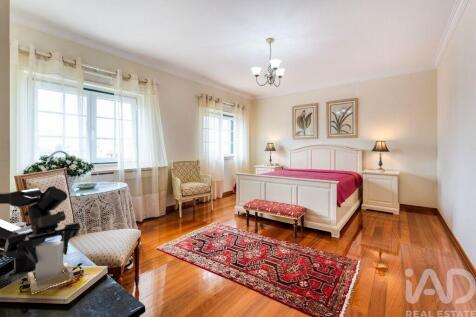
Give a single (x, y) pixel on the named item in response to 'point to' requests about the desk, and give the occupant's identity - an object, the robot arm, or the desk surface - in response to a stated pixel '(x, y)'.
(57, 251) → the skincare box
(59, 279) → the socket holder
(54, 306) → the desk surface
